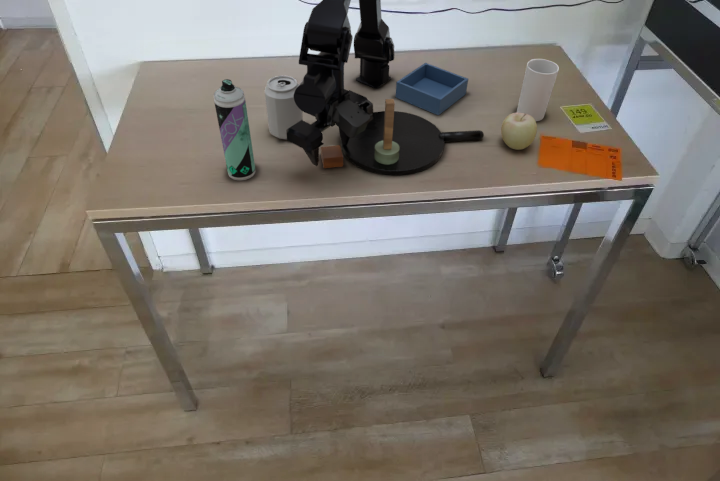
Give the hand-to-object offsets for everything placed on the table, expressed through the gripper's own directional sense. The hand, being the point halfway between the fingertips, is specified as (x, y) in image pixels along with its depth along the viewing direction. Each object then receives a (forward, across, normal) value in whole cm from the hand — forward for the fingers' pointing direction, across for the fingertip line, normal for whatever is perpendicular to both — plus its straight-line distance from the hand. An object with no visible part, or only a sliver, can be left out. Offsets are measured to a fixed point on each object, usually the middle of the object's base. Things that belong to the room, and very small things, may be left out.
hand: (330, 154), depth 115 cm
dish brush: (0, +7, -9) cm, 12 cm away
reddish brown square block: (+1, 0, -1) cm, 2 cm away
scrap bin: (+1, +35, -2) cm, 35 cm away
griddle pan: (+1, +16, -10) cm, 19 cm away
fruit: (+2, +30, -27) cm, 40 cm away
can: (+2, +2, +14) cm, 14 cm away
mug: (+2, +44, -23) cm, 49 cm away
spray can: (+2, -14, +11) cm, 18 cm away
